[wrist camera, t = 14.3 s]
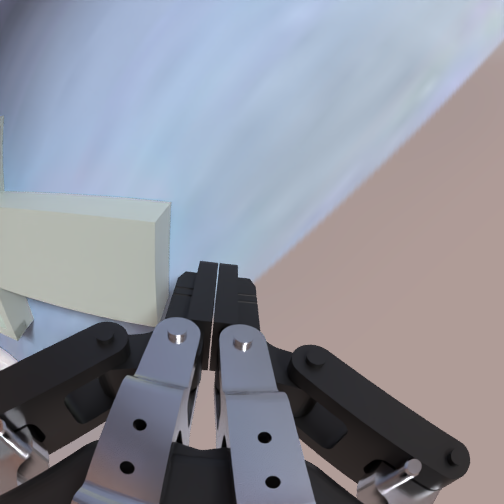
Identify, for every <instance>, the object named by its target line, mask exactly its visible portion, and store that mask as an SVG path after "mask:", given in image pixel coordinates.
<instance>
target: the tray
mask: <svg viewBox="0 0 504 504" xmlns="http://www.w3.org/2000/svg"><path fill="white" fill-rule="evenodd" d="M3 123H4V116H0V333H2V334H4V335H6V336H8V337H10V338H13V339H15V340H17V341H19V339H20V338H21V336H22V335H23V334H24V332H25V331H26V329H27V328H28V327H29V325H30V324H31V323H32V321H33V320H34V318H33V315H32V312H31V310H30V307H29V304H28V301H27V298H26V297H29V298H32V299H36V300H39V301H42V302H46V303H49V304H53V305H56V306H60V307H64V308H67V309H71V310H75V311H79V312H83V313H87V314H92V315H96V316H100V317H105V318H110V319H114V320H119V321H124V322H129V323H134V324H140V325H145V326H151V327H156V325H157V324H158V323H159V322H160V320H161V317H162V314H163V311H164V308H165V306H166V303H167V300H168V297H169V240H170V216H171V202H165V201H155V200H144V199H134V198H122V197H110V196H96V195H82V194H65V193H45V192H17V191H4V179H3Z"/></svg>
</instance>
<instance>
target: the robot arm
mask: <svg viewBox="0 0 504 504" xmlns="http://www.w3.org/2000/svg"><path fill="white" fill-rule="evenodd" d="M217 269H218V263H214V262H205V261H200V264H199V268H198V272H197V273H194V272H185V273H183V274H182V275H181V276H180V277H179V278H178V280H177V283H176V287H175V289H174V292H173V295H172V298H171V302H170V305H169V308H168V311H167V314H166V317H165V320H163V321H161V322H159V323H158V324H157V325H156V327H155V329H154V331H152V332H150V333H146V334H137V335H128V334H127V332H126V330H125V329H124V328H123V327H122V326H121V325H119V324H117V323H113V322H101V323H97V324H95V325H93V326H91V327H89V328H87V329H85V330H83V331H80V332H78V333H76V334H74V335H72V336H70V337H68V338H66V339H64V340H62V341H60V342H58V343H56V344H54V345H52V346H50V347H48V348H46V349H43V350H41V351H39V352H37V353H35V354H33V355H31V356H29V357H27V358H25V359H23V360H21V361H19V362H17V363H15V364H13V365H11V366H9V367H7V368H5V369H3V370H1V371H0V504H433V502H434V501H435V499H436V497H437V495H438V493H439V491H440V490H441V489H442V488H443V487H445V486H447V485H449V484H450V483H452V482H454V481H455V480H457V479H459V478H460V477H462V476H463V475H464V474H465V473H466V472H467V470H468V468H469V465H470V456H469V452H468V450H467V448H466V447H465V445H464V444H462V443H461V442H460V441H458V440H456V439H455V438H453V437H452V436H450V435H449V434H447V433H445V432H444V431H442V430H441V429H439V428H438V427H436V426H435V425H433V424H432V423H430V422H429V421H427V420H425V419H424V418H422V417H421V416H419V415H418V414H416V413H415V412H414V411H412V410H411V409H409V408H408V407H406V406H405V405H403V404H402V403H400V402H399V401H398V400H396V399H395V398H393V397H392V396H390V395H389V394H387V393H386V392H385V391H383V390H382V389H380V388H379V387H377V386H376V385H374V384H373V383H372V382H370V381H369V380H367V379H366V378H365V377H363V376H362V375H361V374H359V373H358V372H356V371H355V370H354V369H352V368H351V367H349V366H348V365H347V364H345V363H344V362H342V361H341V360H340V359H339V358H337V357H336V356H334V355H333V354H332V353H330V352H329V351H328V350H326V349H324V348H322V347H320V346H316V345H303V346H301V347H299V348H297V349H296V350H295V351H294V352H293V353H292V352H288V351H285V350H282V349H279V348H276V347H274V346H272V345H271V344H269V343H268V342H267V341H266V339H265V337H264V335H263V334H262V333H261V332H260V325H259V315H258V306H257V298H256V287H255V285H254V284H253V283H252V281H251V280H250V279H247V278H238V265H231V264H223V263H220V266H219V275H218V284H217V293H216V303H215V313H214V324H213V335H212V346H211V359H210V370H211V371H215V384H214V404H215V422H216V423H215V424H216V449H210V450H198V449H195V448H192V447H189V437H190V429H191V424H192V418H193V413H194V408H195V403H196V398H197V392H198V387H199V383H200V380H201V371H202V370H208V359H209V348H210V338H211V326H212V318H213V308H214V298H215V288H216V279H217ZM105 421H106V423H105V426H104V428H103V431H102V433H101V436H100V438H99V440H96V441H93V442H91V443H89V444H87V445H85V446H83V447H82V448H80V449H79V450H77V451H76V452H74V453H73V454H71V455H70V456H68V457H67V458H65V459H63V460H62V461H60V462H59V463H57V464H55V465H54V466H52V467H50V468H49V454H51V453H53V452H55V451H56V450H58V449H60V448H62V447H63V446H65V445H67V444H69V443H70V442H72V441H74V440H76V439H77V438H79V437H80V436H82V435H84V434H86V433H87V432H89V431H91V430H92V429H94V428H96V427H97V426H99V425H100V424H102V423H103V422H105ZM299 439H301V440H302V441H303V442H304V443H305V444H307V445H308V446H309V447H310V448H311V449H313V450H314V451H315V452H316V453H317V454H319V455H320V456H321V457H322V458H324V459H325V460H326V461H328V462H329V463H330V464H331V465H333V466H334V467H335V468H337V469H338V470H339V471H341V472H342V473H343V474H345V475H346V476H347V477H349V478H350V479H352V480H353V481H354V482H356V483H357V484H358V486H357V498H356V497H354V496H353V495H352V494H350V493H349V492H348V491H346V490H345V489H344V488H343V487H341V486H340V485H339V484H337V483H336V482H335V481H334V480H333V479H331V478H330V477H329V476H328V475H326V474H325V473H324V472H323V471H322V470H320V469H319V468H318V467H316V466H315V465H313V464H312V463H310V462H308V461H306V460H304V456H303V453H302V449H301V445H300V441H299Z"/></svg>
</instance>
